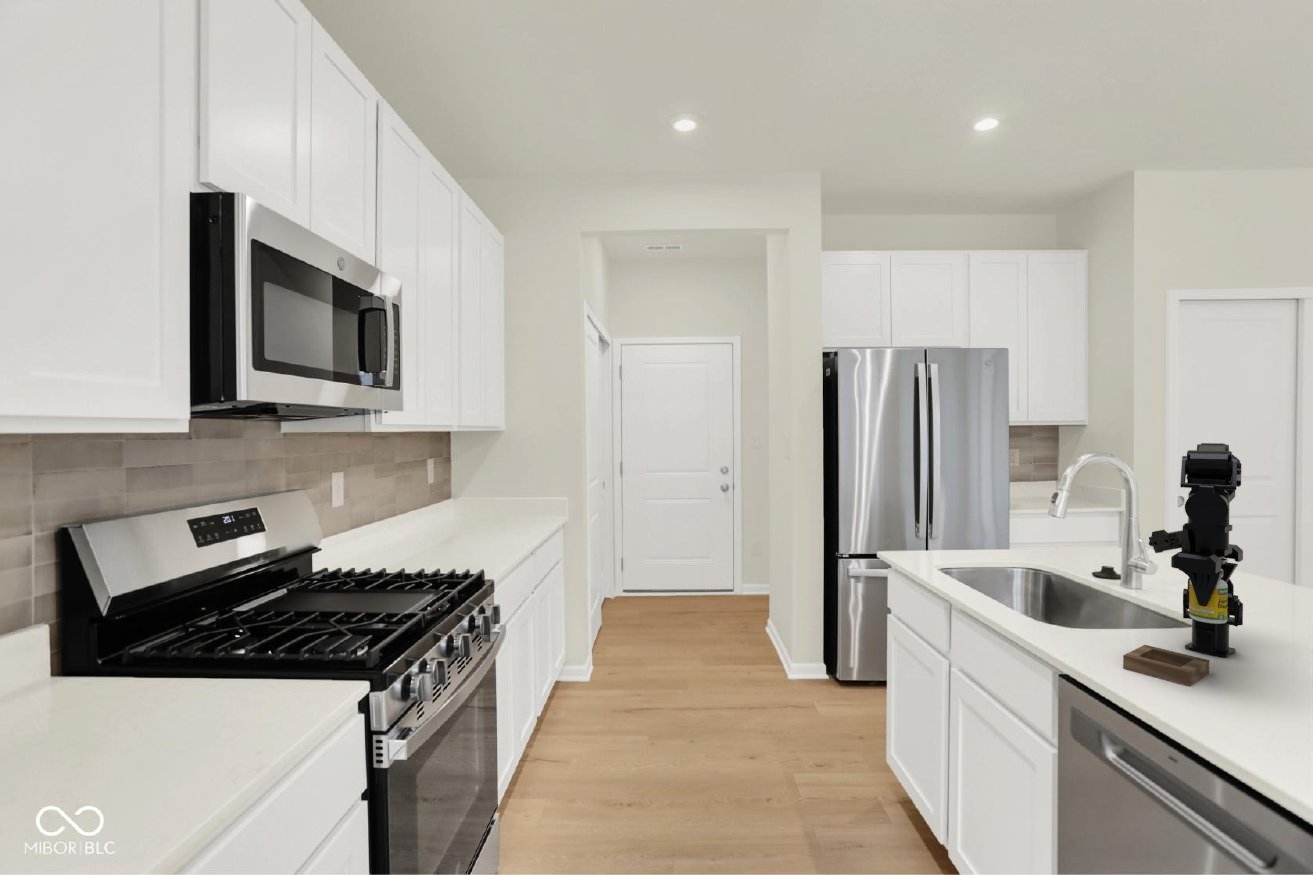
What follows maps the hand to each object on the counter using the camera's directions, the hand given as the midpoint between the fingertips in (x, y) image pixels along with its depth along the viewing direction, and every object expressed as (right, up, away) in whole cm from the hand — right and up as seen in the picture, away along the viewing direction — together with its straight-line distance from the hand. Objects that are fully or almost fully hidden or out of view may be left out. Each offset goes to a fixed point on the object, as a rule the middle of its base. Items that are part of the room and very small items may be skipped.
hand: (1207, 603), depth 117 cm
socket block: (-6, -13, +2) cm, 15 cm away
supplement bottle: (0, -3, 0) cm, 3 cm away
